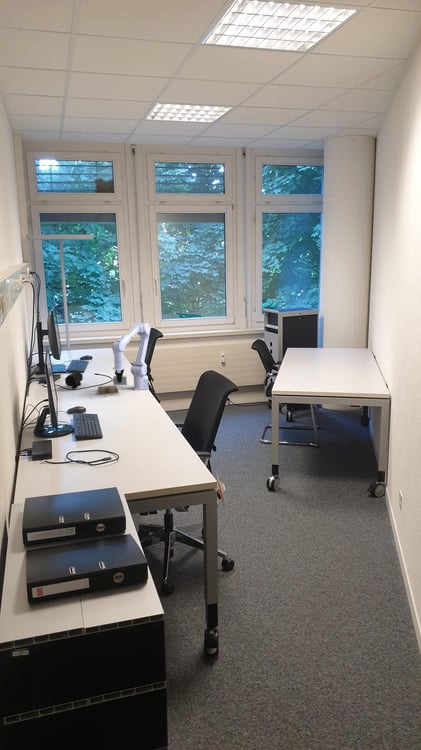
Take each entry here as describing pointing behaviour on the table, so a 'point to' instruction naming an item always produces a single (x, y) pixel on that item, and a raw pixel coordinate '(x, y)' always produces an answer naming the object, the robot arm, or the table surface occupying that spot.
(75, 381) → the security camera
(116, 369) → the robot arm
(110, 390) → the stand
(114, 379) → the housing
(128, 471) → the table surface
